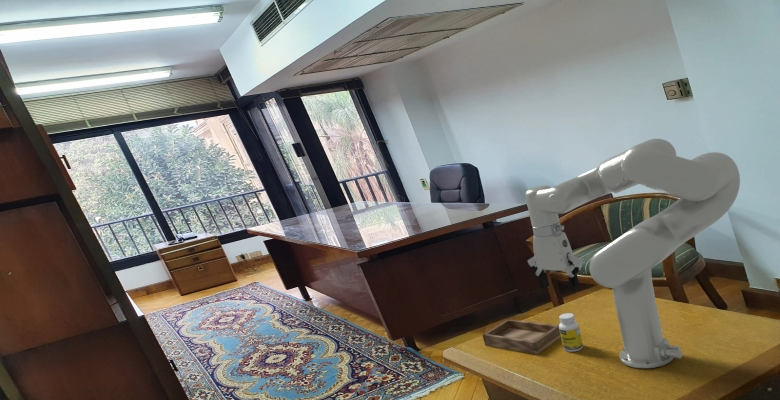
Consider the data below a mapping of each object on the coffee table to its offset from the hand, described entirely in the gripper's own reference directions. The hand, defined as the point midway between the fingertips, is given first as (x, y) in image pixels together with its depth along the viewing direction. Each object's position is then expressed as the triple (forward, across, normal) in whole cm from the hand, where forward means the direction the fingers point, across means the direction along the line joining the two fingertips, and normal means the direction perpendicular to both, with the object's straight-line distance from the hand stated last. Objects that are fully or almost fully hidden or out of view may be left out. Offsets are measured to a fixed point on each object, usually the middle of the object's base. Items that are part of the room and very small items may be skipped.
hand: (559, 288), depth 150 cm
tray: (+18, +17, 0) cm, 25 cm away
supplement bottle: (+18, 0, 0) cm, 18 cm away
